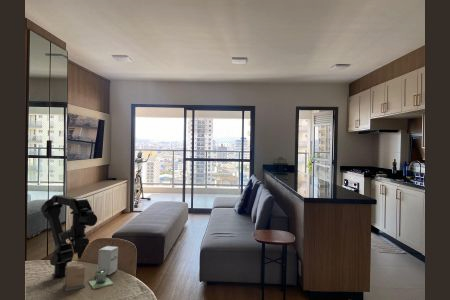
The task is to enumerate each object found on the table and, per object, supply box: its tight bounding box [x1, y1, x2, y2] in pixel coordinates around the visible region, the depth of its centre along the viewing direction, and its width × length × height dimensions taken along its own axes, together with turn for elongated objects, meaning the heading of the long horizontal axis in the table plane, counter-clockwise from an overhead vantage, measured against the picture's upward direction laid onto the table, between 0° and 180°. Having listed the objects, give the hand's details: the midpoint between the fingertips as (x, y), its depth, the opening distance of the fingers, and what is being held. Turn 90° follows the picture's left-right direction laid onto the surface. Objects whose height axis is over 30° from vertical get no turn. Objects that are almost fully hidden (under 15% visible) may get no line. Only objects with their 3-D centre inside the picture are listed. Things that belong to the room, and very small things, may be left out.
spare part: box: [95, 270, 107, 284], centre depth 142 cm, size 5×5×5 cm
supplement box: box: [97, 245, 119, 276], centre depth 157 cm, size 7×7×13 cm
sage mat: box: [88, 276, 114, 290], centre depth 141 cm, size 9×9×1 cm
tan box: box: [62, 263, 86, 292], centre depth 137 cm, size 7×8×9 cm
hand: (77, 255), depth 145 cm, fingers open, 9 cm apart
